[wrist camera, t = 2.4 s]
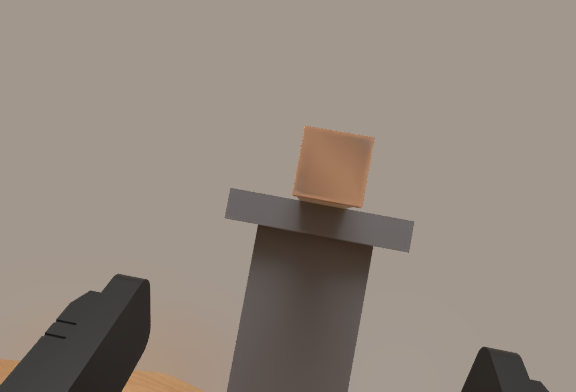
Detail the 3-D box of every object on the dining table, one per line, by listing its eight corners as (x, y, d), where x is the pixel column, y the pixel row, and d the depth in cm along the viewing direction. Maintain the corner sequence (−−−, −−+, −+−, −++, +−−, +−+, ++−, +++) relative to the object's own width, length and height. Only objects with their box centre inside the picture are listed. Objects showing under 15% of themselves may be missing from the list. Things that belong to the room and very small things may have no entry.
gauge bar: (361, 207, 21) (374, 137, 21) (292, 194, 21) (305, 125, 21) (334, 213, 45) (340, 181, 45) (302, 207, 45) (308, 175, 45)
